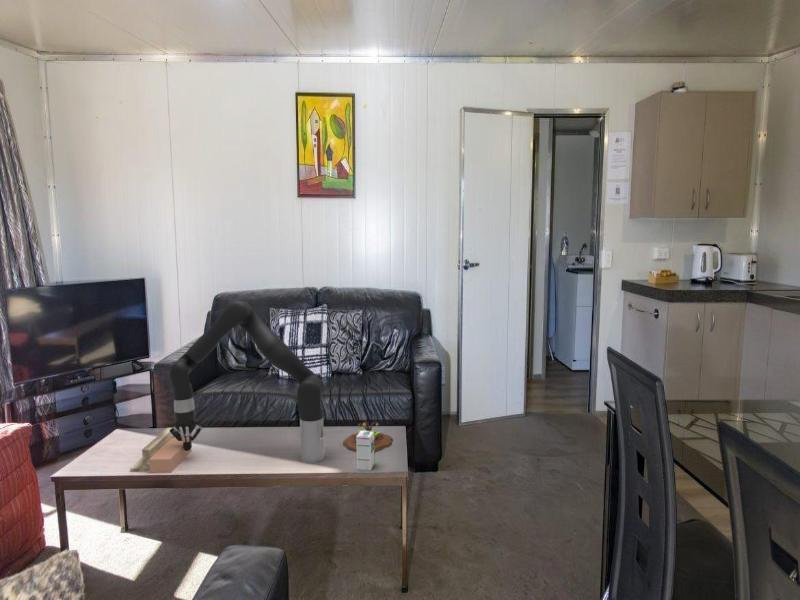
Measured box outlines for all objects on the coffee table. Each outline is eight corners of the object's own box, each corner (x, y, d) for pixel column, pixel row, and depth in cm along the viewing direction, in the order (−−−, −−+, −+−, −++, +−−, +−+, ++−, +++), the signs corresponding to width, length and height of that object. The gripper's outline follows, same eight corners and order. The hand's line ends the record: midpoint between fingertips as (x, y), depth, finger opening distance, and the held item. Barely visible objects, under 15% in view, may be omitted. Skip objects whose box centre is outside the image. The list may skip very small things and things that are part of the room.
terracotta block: (191, 451, 214) (190, 438, 213) (171, 474, 194) (170, 459, 193) (172, 452, 214) (171, 438, 213) (149, 474, 194) (148, 459, 193)
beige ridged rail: (175, 448, 217) (174, 427, 216) (151, 472, 195) (149, 449, 194) (156, 448, 217) (155, 427, 216) (130, 472, 195) (128, 449, 194)
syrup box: (371, 473, 194) (371, 436, 192) (356, 471, 195) (356, 435, 194) (375, 466, 200) (374, 431, 198) (360, 465, 201) (360, 429, 199)
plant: (335, 448, 217) (334, 423, 216) (361, 433, 234) (361, 409, 233) (373, 459, 207) (373, 432, 206) (398, 442, 224) (398, 417, 222)
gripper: (204, 405, 207) (207, 445, 209) (171, 406, 207) (175, 446, 209) (197, 411, 200) (200, 453, 202) (163, 412, 199) (167, 454, 202)
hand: (187, 450), depth 206 cm, fingers closed
